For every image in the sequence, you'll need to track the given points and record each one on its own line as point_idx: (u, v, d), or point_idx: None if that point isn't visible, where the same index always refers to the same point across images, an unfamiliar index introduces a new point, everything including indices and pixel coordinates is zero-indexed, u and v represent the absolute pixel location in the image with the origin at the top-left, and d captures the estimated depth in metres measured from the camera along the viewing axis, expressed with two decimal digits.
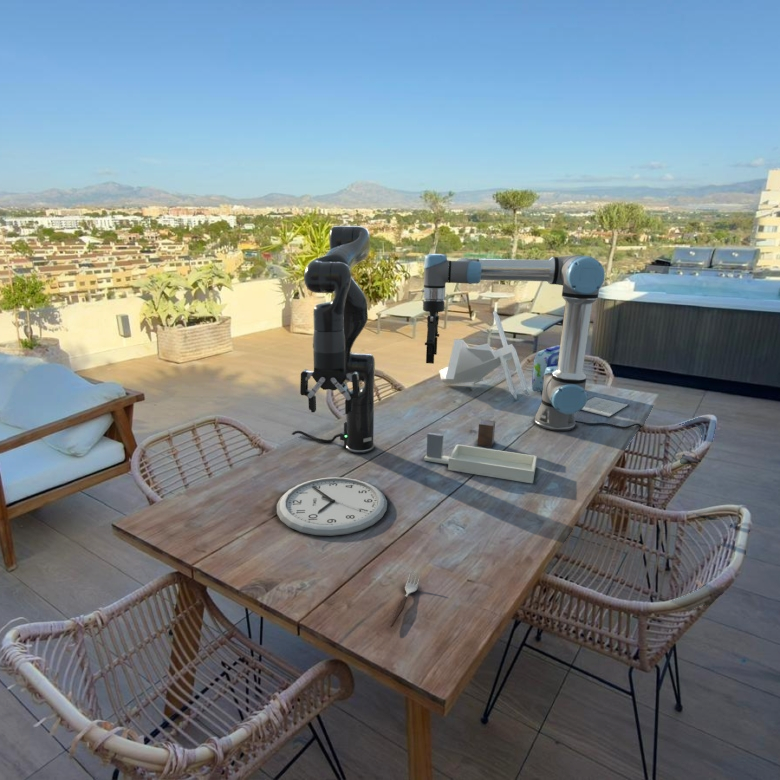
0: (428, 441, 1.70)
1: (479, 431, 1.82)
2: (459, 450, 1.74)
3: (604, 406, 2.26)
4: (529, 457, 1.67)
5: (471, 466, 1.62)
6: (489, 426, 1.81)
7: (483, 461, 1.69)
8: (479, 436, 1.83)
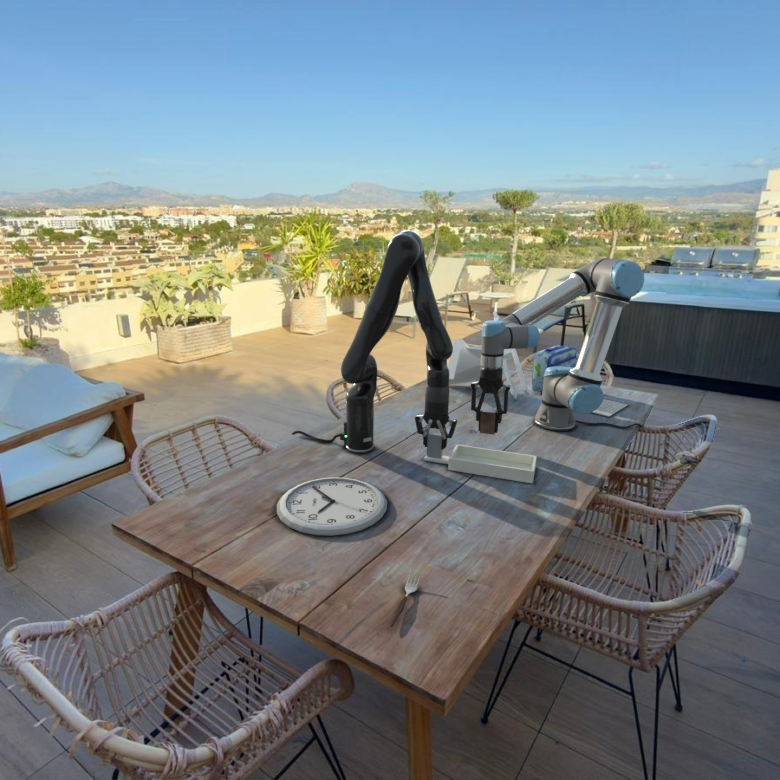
0: (428, 441, 1.70)
1: (481, 418, 1.81)
2: (459, 450, 1.74)
3: (604, 406, 2.26)
4: (529, 457, 1.67)
5: (471, 466, 1.62)
6: (491, 413, 1.79)
7: (483, 461, 1.69)
8: (481, 423, 1.82)
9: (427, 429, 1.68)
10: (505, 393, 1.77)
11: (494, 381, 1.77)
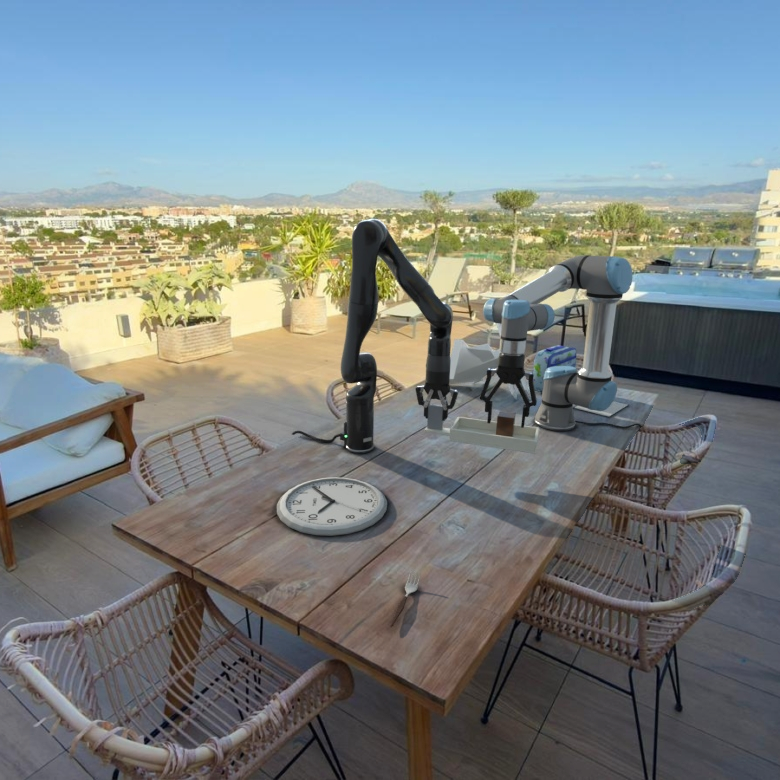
0: (429, 412, 1.67)
1: (497, 424, 1.59)
2: (460, 422, 1.71)
3: None
4: (531, 429, 1.64)
5: (472, 437, 1.59)
6: (509, 418, 1.57)
7: (485, 433, 1.66)
8: (497, 430, 1.60)
9: (428, 400, 1.65)
10: (529, 382, 1.54)
11: (514, 371, 1.54)
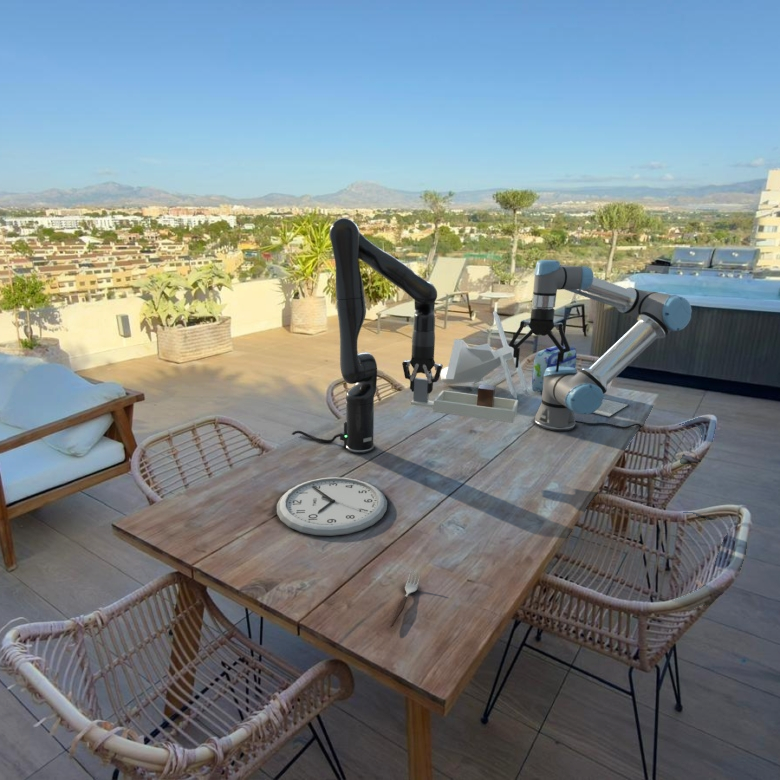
0: (415, 386, 1.78)
1: (478, 396, 1.70)
2: (445, 396, 1.82)
3: (604, 406, 2.26)
4: (511, 402, 1.75)
5: (455, 407, 1.70)
6: (489, 390, 1.68)
7: None
8: (478, 401, 1.70)
9: (414, 373, 1.76)
10: (560, 331, 1.74)
11: (544, 324, 1.75)
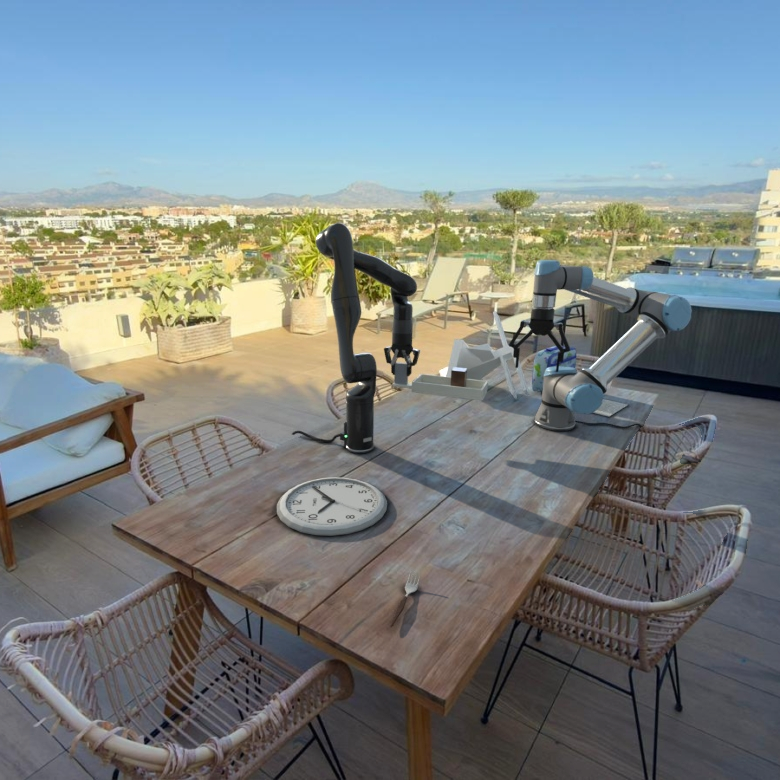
0: (395, 369, 1.98)
1: (451, 377, 1.89)
2: (423, 378, 2.02)
3: (604, 406, 2.26)
4: (481, 383, 1.94)
5: (431, 388, 1.89)
6: (461, 372, 1.88)
7: None
8: (452, 382, 1.90)
9: (394, 358, 1.96)
10: (560, 331, 1.74)
11: (544, 324, 1.75)
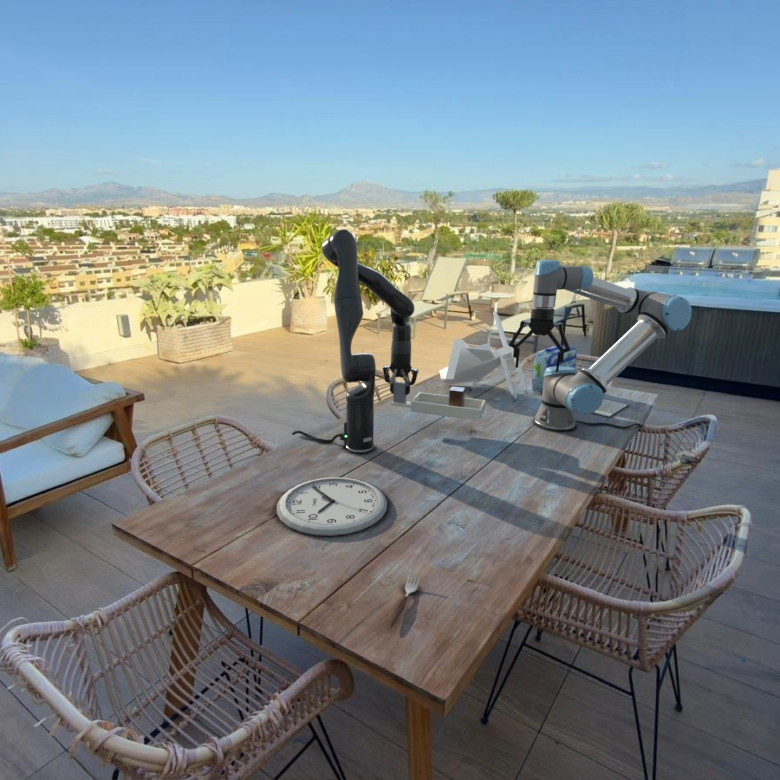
0: (394, 388, 2.00)
1: (450, 397, 1.92)
2: (421, 397, 2.04)
3: (604, 406, 2.26)
4: (479, 402, 1.97)
5: (429, 407, 1.92)
6: (459, 392, 1.90)
7: None
8: (450, 402, 1.93)
9: (393, 378, 1.98)
10: (560, 331, 1.74)
11: (544, 324, 1.75)
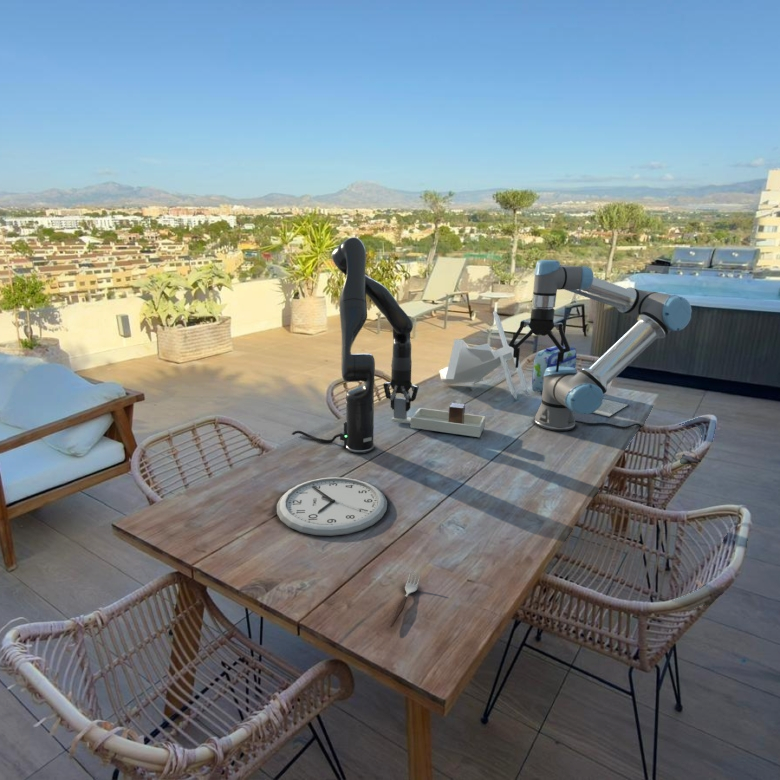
0: (395, 404, 2.02)
1: (450, 413, 1.94)
2: (421, 413, 2.06)
3: (604, 406, 2.26)
4: (479, 418, 1.99)
5: (429, 424, 1.94)
6: (459, 408, 1.92)
7: (441, 421, 2.01)
8: (450, 418, 1.94)
9: (393, 394, 2.00)
10: (560, 331, 1.74)
11: (544, 324, 1.75)
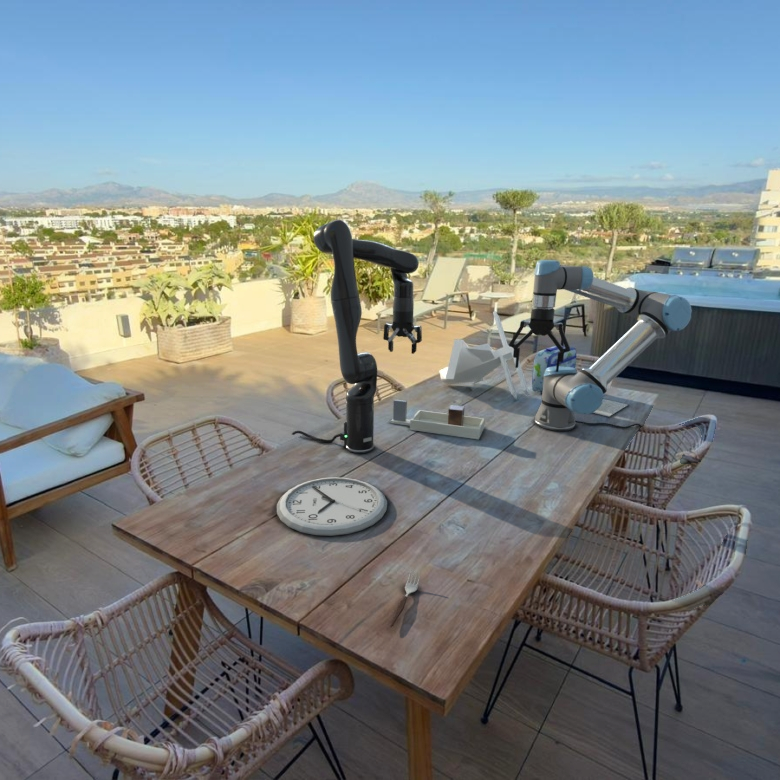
0: (394, 406, 2.02)
1: (449, 415, 1.94)
2: (421, 415, 2.06)
3: (604, 406, 2.26)
4: (478, 420, 1.99)
5: (429, 426, 1.94)
6: (458, 410, 1.92)
7: None
8: (449, 420, 1.94)
9: (393, 336, 1.93)
10: (560, 331, 1.74)
11: (544, 324, 1.75)
